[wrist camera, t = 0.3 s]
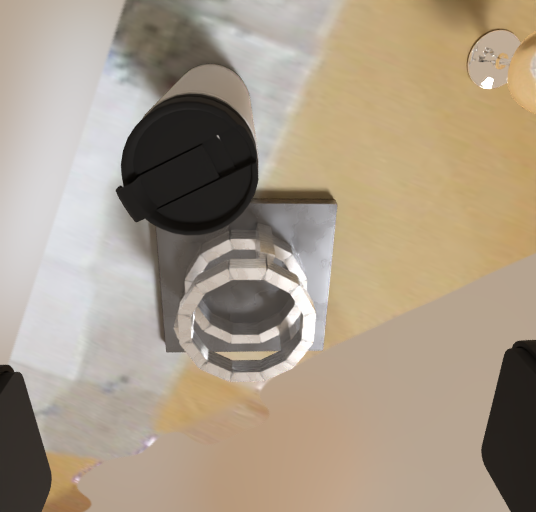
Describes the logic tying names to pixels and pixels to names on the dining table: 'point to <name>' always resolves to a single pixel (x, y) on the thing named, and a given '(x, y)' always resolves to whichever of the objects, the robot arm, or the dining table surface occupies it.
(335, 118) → the dining table surface
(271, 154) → the dining table surface
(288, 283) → the collar stand
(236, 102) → the travel mug
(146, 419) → the dining table surface
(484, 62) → the wineglass
